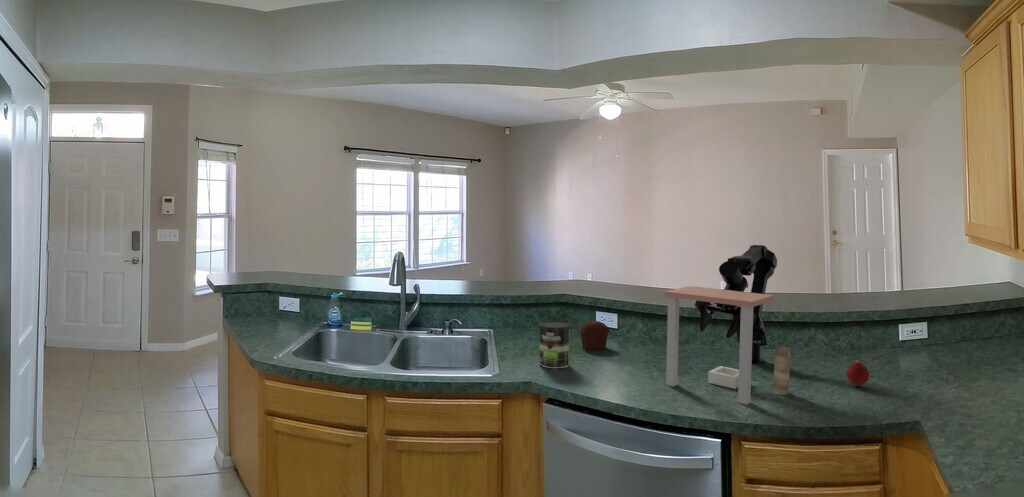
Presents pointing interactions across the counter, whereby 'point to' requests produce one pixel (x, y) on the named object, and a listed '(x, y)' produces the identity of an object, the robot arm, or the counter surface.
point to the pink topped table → (746, 329)
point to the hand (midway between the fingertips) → (713, 334)
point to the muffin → (594, 335)
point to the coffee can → (554, 344)
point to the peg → (781, 370)
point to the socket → (724, 377)
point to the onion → (857, 373)
